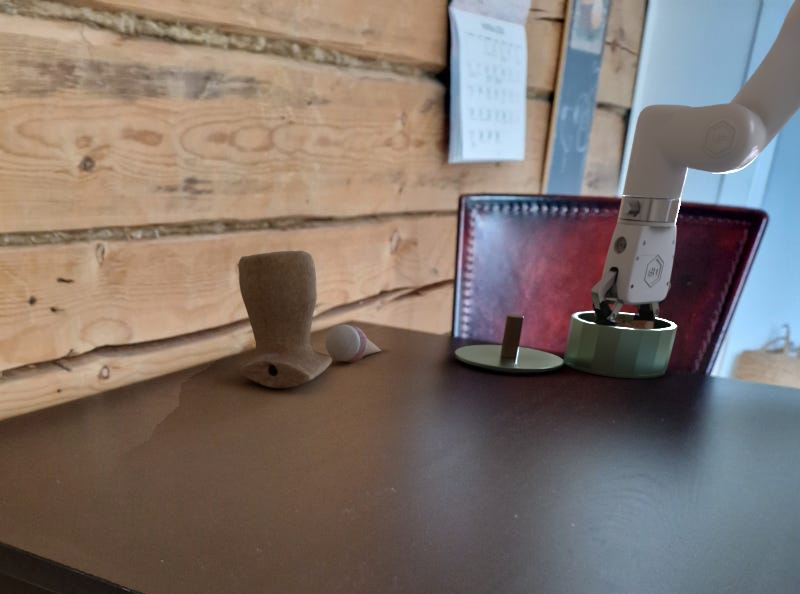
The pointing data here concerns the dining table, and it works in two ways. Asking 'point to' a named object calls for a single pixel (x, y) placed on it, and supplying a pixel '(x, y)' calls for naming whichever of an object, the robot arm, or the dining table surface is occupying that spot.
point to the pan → (618, 347)
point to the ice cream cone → (348, 343)
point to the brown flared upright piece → (281, 317)
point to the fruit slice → (634, 324)
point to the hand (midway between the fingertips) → (620, 346)
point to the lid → (509, 353)
